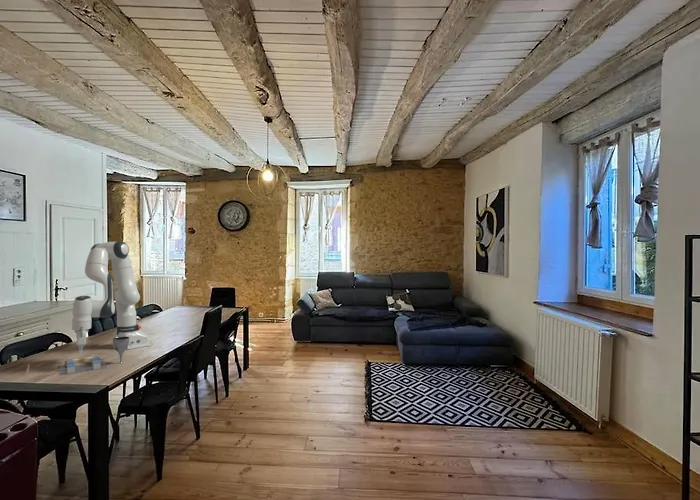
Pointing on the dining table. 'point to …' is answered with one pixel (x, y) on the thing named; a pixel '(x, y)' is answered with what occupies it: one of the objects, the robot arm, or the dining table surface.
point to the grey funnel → (120, 345)
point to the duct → (82, 366)
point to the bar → (81, 361)
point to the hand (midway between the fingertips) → (80, 350)
